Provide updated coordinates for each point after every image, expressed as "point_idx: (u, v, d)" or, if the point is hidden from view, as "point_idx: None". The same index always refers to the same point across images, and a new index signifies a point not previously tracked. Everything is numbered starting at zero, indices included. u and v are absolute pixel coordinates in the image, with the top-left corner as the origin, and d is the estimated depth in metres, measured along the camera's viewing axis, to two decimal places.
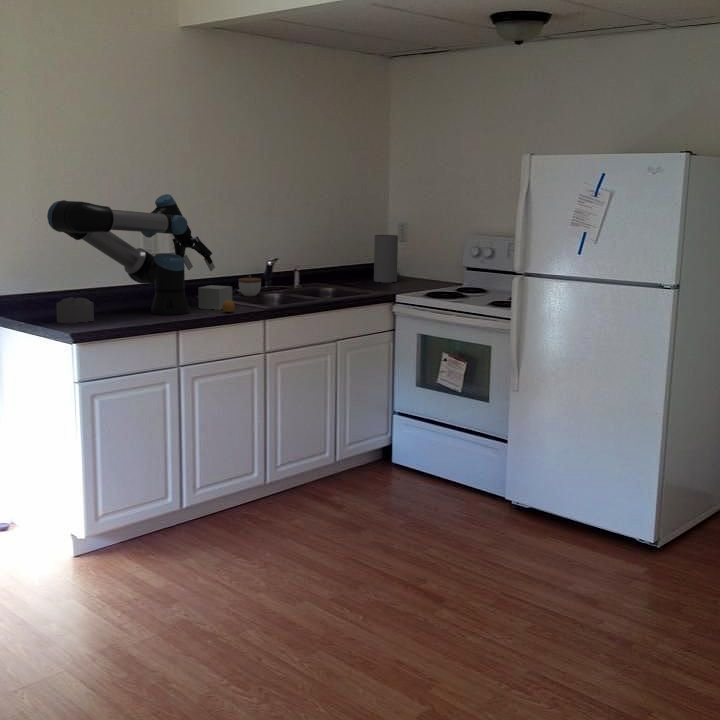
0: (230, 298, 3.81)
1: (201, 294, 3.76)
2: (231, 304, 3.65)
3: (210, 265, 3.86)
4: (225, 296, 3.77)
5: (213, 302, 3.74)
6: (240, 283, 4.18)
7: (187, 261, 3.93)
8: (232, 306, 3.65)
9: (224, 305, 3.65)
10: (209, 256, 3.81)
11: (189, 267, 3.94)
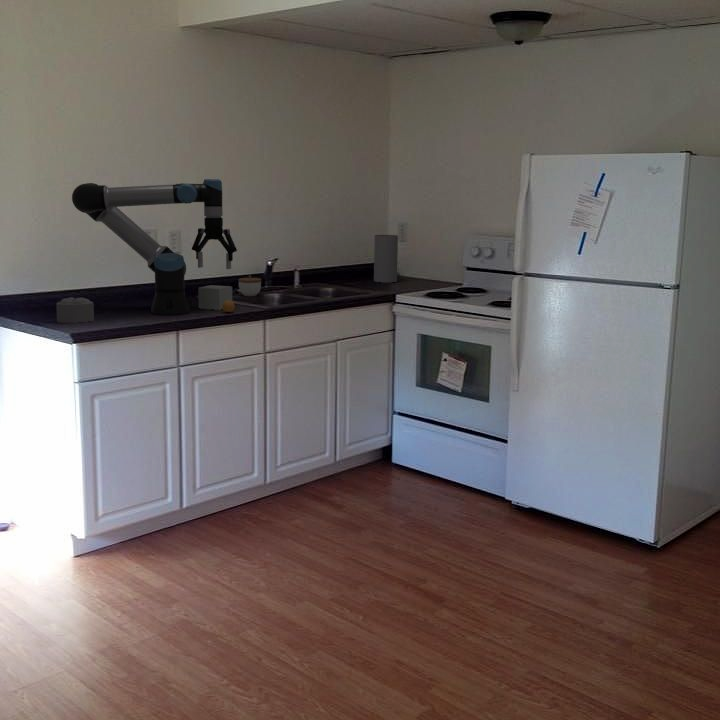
0: (230, 298, 3.81)
1: (201, 294, 3.76)
2: (231, 304, 3.65)
3: (228, 263, 3.74)
4: (225, 296, 3.77)
5: (213, 302, 3.74)
6: (240, 283, 4.18)
7: (201, 258, 3.79)
8: (232, 306, 3.65)
9: (224, 305, 3.65)
10: (234, 251, 3.71)
11: (200, 265, 3.79)
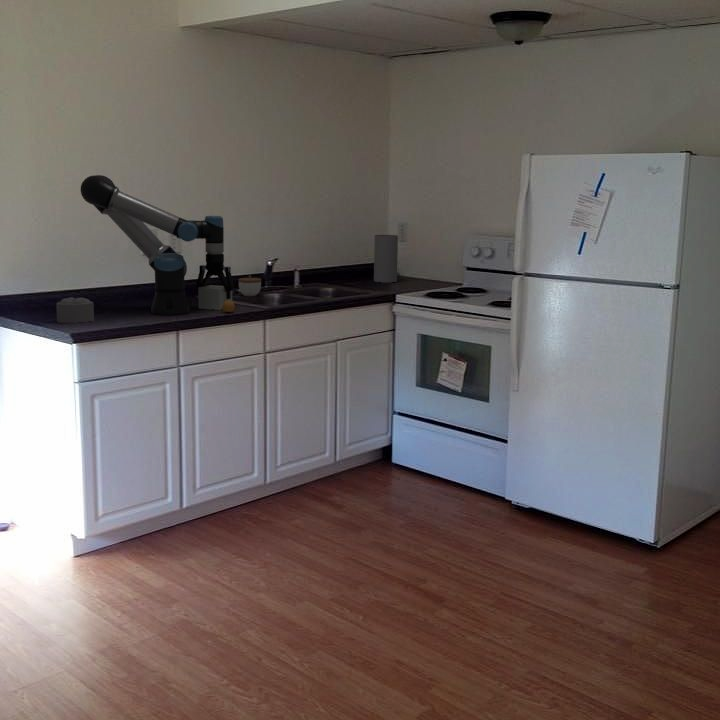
0: (230, 298, 3.81)
1: (201, 294, 3.76)
2: (231, 304, 3.65)
3: None
4: None
5: (213, 302, 3.74)
6: (240, 283, 4.18)
7: None
8: (232, 306, 3.65)
9: (224, 305, 3.65)
10: (232, 289, 3.74)
11: None
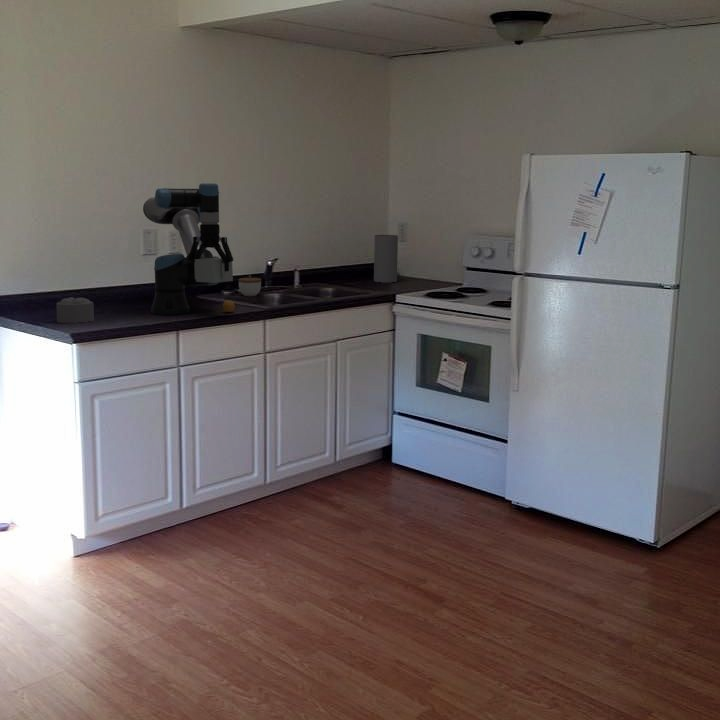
0: (229, 271, 3.56)
1: (197, 266, 3.54)
2: (231, 304, 3.65)
3: (225, 273, 3.52)
4: None
5: (208, 274, 3.51)
6: (240, 283, 4.18)
7: None
8: (232, 306, 3.65)
9: (224, 305, 3.65)
10: (230, 261, 3.50)
11: None
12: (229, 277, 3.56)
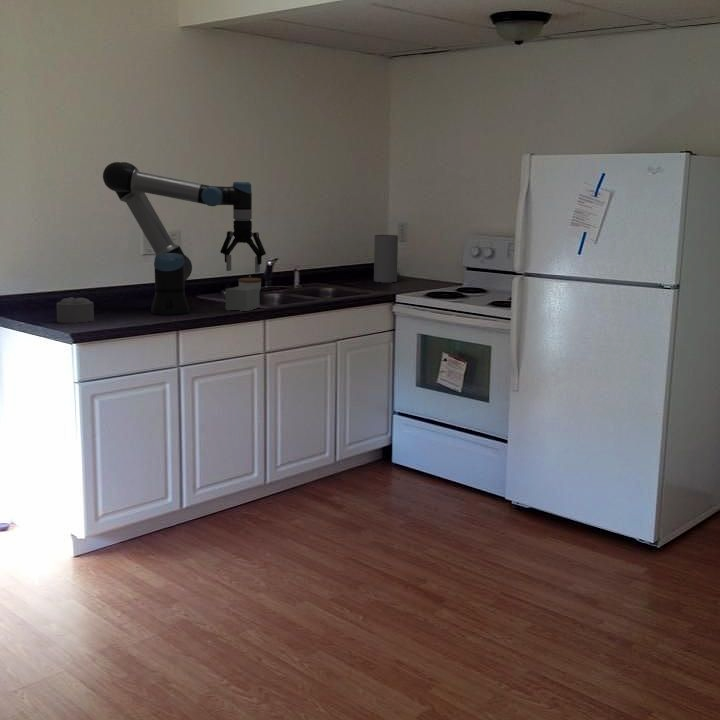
0: (257, 300, 3.77)
1: (228, 296, 3.72)
2: None
3: (257, 266, 3.71)
4: (253, 298, 3.73)
5: (240, 304, 3.70)
6: (240, 283, 4.18)
7: (229, 261, 3.77)
8: None
9: None
10: (263, 254, 3.69)
11: (228, 268, 3.77)
12: (257, 305, 3.77)
